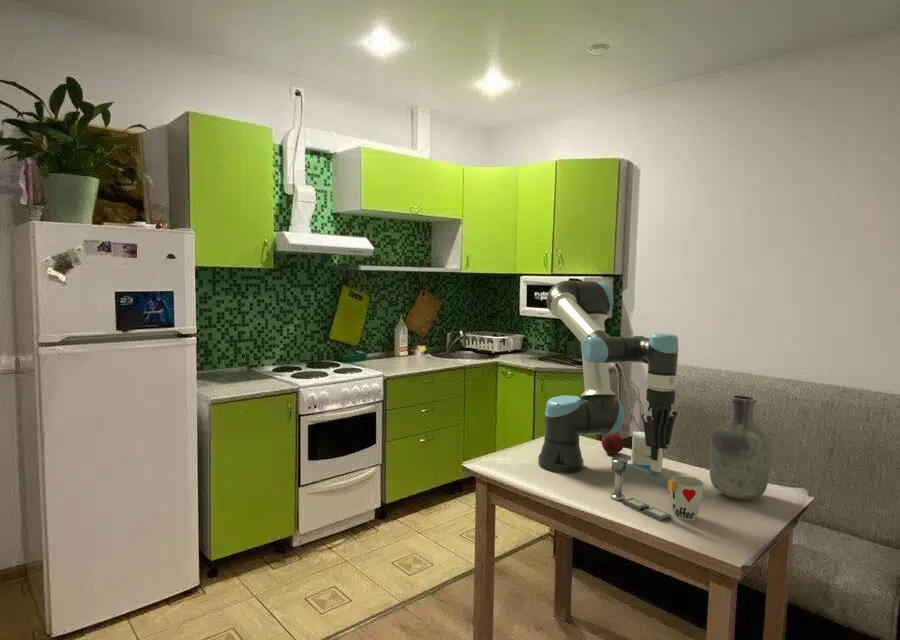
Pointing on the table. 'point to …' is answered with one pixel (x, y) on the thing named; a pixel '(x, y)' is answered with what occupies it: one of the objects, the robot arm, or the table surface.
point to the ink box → (641, 452)
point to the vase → (740, 453)
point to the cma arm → (644, 474)
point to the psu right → (657, 514)
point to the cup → (687, 497)
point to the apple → (612, 443)
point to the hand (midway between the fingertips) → (656, 470)
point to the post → (618, 487)
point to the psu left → (635, 504)
